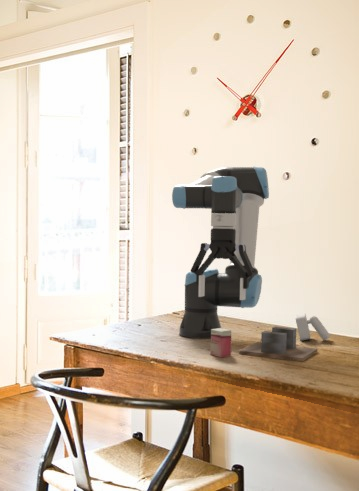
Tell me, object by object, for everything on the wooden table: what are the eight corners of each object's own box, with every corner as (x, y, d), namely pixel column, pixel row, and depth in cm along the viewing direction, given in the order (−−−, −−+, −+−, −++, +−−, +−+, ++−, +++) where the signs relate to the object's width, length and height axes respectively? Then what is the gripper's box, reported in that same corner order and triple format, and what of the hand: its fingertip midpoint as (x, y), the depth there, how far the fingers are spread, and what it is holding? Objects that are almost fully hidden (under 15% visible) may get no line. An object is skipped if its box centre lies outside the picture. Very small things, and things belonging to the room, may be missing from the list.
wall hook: (331, 341, 216) (325, 312, 216) (301, 346, 218) (295, 318, 218) (331, 337, 224) (325, 309, 224) (301, 342, 226) (295, 314, 226)
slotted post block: (239, 353, 196) (239, 331, 196) (257, 344, 210) (258, 323, 210) (302, 361, 187) (302, 337, 187) (317, 351, 201) (318, 329, 201)
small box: (209, 354, 194) (210, 328, 194) (220, 352, 197) (220, 327, 197) (220, 357, 190) (221, 331, 190) (231, 355, 193) (232, 330, 193)
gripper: (180, 226, 195) (179, 296, 195) (257, 228, 183) (255, 302, 184) (191, 227, 201) (190, 293, 202) (266, 228, 190) (265, 299, 190)
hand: (221, 298), depth 193 cm, fingers open, 13 cm apart
